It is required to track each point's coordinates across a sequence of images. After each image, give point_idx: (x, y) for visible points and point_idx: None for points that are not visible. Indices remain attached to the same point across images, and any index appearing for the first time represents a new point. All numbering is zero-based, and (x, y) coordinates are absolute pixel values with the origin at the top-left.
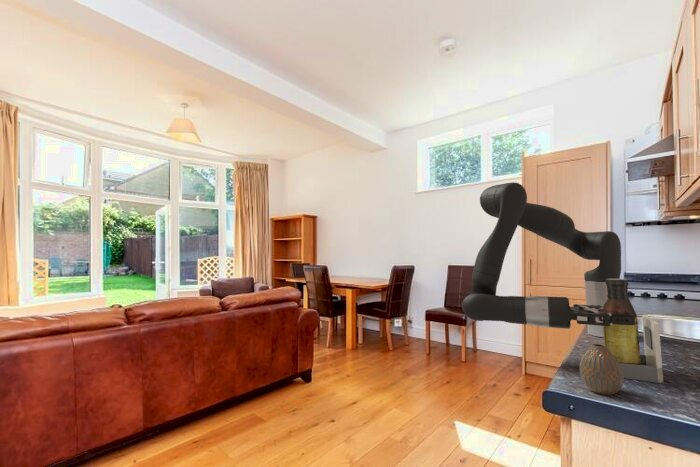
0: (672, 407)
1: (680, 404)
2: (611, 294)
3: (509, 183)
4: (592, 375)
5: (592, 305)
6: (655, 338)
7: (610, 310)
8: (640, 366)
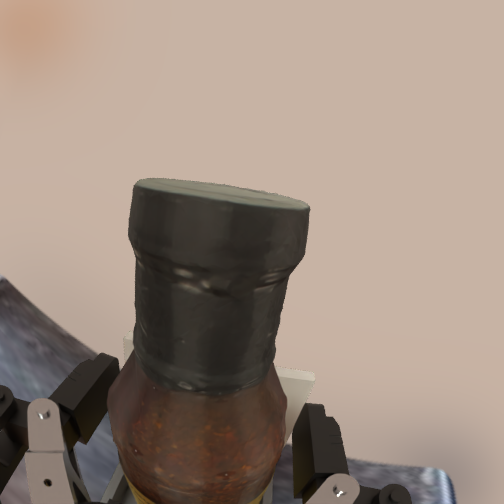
0: (403, 485)
1: (380, 476)
2: (254, 362)
3: None
4: None
5: (53, 479)
6: (297, 417)
7: (266, 465)
8: (271, 495)
